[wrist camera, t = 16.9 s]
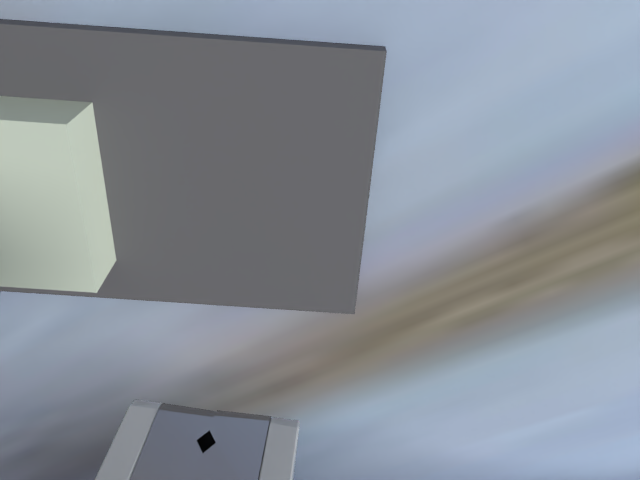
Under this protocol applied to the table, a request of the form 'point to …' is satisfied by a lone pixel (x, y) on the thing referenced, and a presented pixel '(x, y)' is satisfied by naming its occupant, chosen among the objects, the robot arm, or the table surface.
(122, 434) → the robot arm
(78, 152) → the block
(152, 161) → the mat
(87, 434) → the table surface
